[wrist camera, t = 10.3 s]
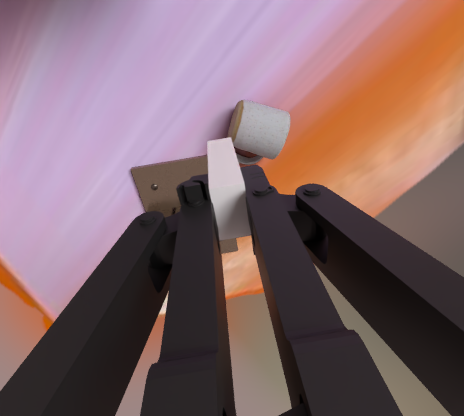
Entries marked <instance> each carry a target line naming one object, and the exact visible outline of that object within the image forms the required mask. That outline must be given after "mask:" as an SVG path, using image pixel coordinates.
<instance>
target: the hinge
mask: <svg viewBox="0 0 464 416" xmlns="http://www.w3.org/2000/svg"><path fill="white" fill-rule="evenodd" d="M131 172H132V175H133V177H134V180H135V183H136V186H137V188H138V191H139V194H140V197H141V199H142V202H143V205H144V207H145V210H146V212H151V211H159V212H161V213H163V215H164V218H165V217H168V216H171V215H173V214H176V213H178V212H179V211H180V207H181V205H180V201H179V198H178V194H177V190H176V188H177V186H178V185H179V184H181V183H182V182H185V181H187V180H189V179H190V178H191V177H192V176H197V175H203V174H208V155H204V156H198V157H192V158H186V159H180V160H174V161H168V162H162V163H156V164H150V165H144V166H138V167H132V168H131ZM173 208H176V211H175V212H174V209H173ZM219 241H220V246H221V254H222V253H228V252H234V251H238V247H237V241H236V238H232V239H226V240H219Z"/></svg>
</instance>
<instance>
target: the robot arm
mask: <svg viewBox="0 0 464 416" xmlns="http://www.w3.org/2000/svg"><path fill="white" fill-rule="evenodd" d="M207 151H208V174H203V175H197V176H192V177H191V178H190V179H189V180H187V181H185V182H182V183H181V184H179V185H178V186H177V188H176V190H177V194H178V198H179V201H180V205H181V207H180V211H179V212H178V213H176V214H174V215H171V216H168V217H165V218H164V215H163V213H161V212H159V211H151V212H146V213H143V214H141V215H140V216H138V217H136V218H135V219H134V220H133V221H132V223H131V224H130V225H129V226H128V228H127V229H126V230H125V232H124V233H123V234H122V235H121V237H120V238H119V239H118V241H117V242H116V243H115V244H114V246H113V247H112V248H111V250H110V251H109V252H108V253H107V255H106V256H105V257H104V259H103V260H102V261H101V262H100V264H99V265H98V266H97V268H96V269H95V270H94V271H93V273H92V274H91V275H90V277H89V278H88V279H87V280H86V282H85V283H84V284H83V286H82V287H81V288H80V290H79V291H78V292H77V293H76V295H75V296H74V297H73V299H72V300H71V301H70V302H69V304H68V305H67V306H66V308H65V309H64V310H63V311H62V313H61V314H60V315H59V317H58V318H57V319H56V320H55V322H54V323H53V324H52V326H51V327H50V328H49V329H48V331H47V332H46V333H45V335H44V336H43V337H42V338H41V340H40V341H39V342H38V344H37V345H36V346H35V347H34V349H33V350H32V351H31V353H30V354H29V355H28V356H27V358H26V359H25V360H24V362H23V363H22V364H21V365H20V367H19V368H18V369H17V371H16V372H15V373H14V375H13V376H12V377H11V378H10V380H9V381H8V382H7V384H6V385H5V386H4V387H3V389H2V390H1V391H0V416H115V414H116V412H117V410H118V407H119V405H120V403H121V400H122V398H123V396H124V394H125V391H126V389H127V386H128V384H129V382H130V380H131V377H132V375H133V372H134V370H135V368H136V366H137V363H138V361H139V359H140V356H141V354H142V352H143V349H144V347H145V345H146V342H147V340H148V338H149V335H150V333H151V331H152V328H153V326H154V324H155V321H156V319H157V317H158V314H159V312H160V310H161V307H162V305H163V303H164V300H165V298H166V296H167V293H168V291H169V294H168V301H167V308H166V316H165V324H164V331H163V337H162V345H161V352H160V357H159V360H158V362H157V363H154V364H152V365H151V367H150V369H149V371H148V375H147V379H146V384H145V390H144V396H143V402H142V408H141V414H140V416H236V410H235V401H234V390H233V379H232V367H231V357H230V345H229V333H228V322H227V311H226V300H225V289H224V277H223V266H222V255H221V246H220V241H219V240H226V239H232V238H238V237H244V236H250V235H251V236H252V244H253V251H254V255H256V259H257V263H258V268H259V272H260V276H261V280H262V284H263V288H264V292H265V297H266V301H267V304H268V309H269V313H270V317H271V321H272V325H273V329H274V334H275V338H276V342H277V346H278V350H279V354H280V359H281V362H282V367H283V371H284V375H285V379H286V383H287V387H288V392H289V396H290V401H291V407H292V409H290V410H288V411H287V412H285V413H283V414H281V415H279V416H403V415H402V413H401V412H400V410H399V408H398V406H397V404H396V402H395V400H394V399H393V396H392V395H391V393H390V391H389V389H388V387H387V385H386V383H385V382H384V380H383V378H382V376H381V374H380V372H379V370H378V369H377V367H376V365H375V363H374V361H373V359H372V357H371V355H370V353H369V352H368V350H367V348H366V346H365V344H364V342H363V341H362V339H361V338H360V336H359V334H358V333H356V332H355V331H354V330H348V329H347V328H346V327H345V326H344V324H343V322H342V320H341V318H340V316H339V314H338V312H337V310H336V308H335V306H334V304H333V302H332V300H331V298H330V296H329V294H328V292H327V290H326V288H325V286H324V284H323V282H322V280H321V278H320V276H319V274H318V272H317V270H316V268H315V266H314V264H315V265H316V266H317V267H318V268H319V269H320V271H321V272H322V273H323V274H324V275H325V276H326V277H327V278H328V280H329V281H330V282H331V283H332V284H333V285H334V286H335V287H336V288H337V289H338V291H340V293H341V294H342V295H343V296H344V297H345V298H346V299H347V301H348V302H349V303H350V304H351V305H352V306H353V307H354V308H355V309H356V311H358V313H359V314H360V315H361V316H362V317H363V318H364V319H365V320H366V322H367V323H368V324H369V325H370V326H371V327H372V328H373V329H374V330H375V331H376V333H377V334H378V335H379V336H380V337H381V338H382V339H383V340H384V341H385V343H386V344H387V345H388V346H389V347H390V348H391V349H392V350H393V351H394V353H395V354H396V355H397V356H398V357H399V358H400V359H401V360H402V361H403V363H404V364H405V365H406V366H407V367H408V368H409V369H410V370H411V371H412V373H413V374H414V375H415V376H416V377H417V378H418V379H419V380H420V381H421V382H422V384H423V385H424V386H425V387H426V388H427V389H428V390H429V391H430V392H431V393H432V395H433V396H434V397H435V398H436V399H437V400H438V401H439V402H440V403H441V404H442V406H443V407H444V408H445V409H446V410H447V411H448V412H449V413H450V415H452V416H464V277H462V276H461V275H459V274H458V273H456V272H455V271H453V270H452V269H450V268H449V267H447V266H445V265H444V264H443V263H441V262H439V261H438V260H436V259H435V258H433V257H432V256H430V255H429V254H427V253H426V252H424V251H423V250H421V249H420V248H418V247H416V246H415V245H413V244H412V243H410V242H409V241H407V240H406V239H404V238H403V237H401V236H400V235H398V234H397V233H395V232H394V231H392V230H390V229H389V228H387V227H386V226H384V225H383V224H381V223H380V222H378V221H377V220H375V219H374V218H372V217H371V216H369V215H368V214H366V213H365V212H363V211H362V210H360V209H359V208H357V207H356V206H354V205H352V204H351V203H349V202H348V201H346V200H345V199H343V198H342V197H340V196H339V195H337V194H336V193H334V192H333V191H331V190H330V189H328V188H326V187H324V186H322V185H318V184H307V185H302V186H300V187H298V188H297V189H296V192H295V195H283V194H279V193H278V192H277V190H276V188H275V187H273V186H271V185H270V184H269V182H268V180H267V178H266V176H265V173H264V171H263V169H262V168H261V167H259V166H258V165H252V166H246V167H240V166H239V163H238V159H237V156H236V153H235V149H234V146H233V142H232V139H231V137H229V138H223V139H217V140H211V141H207ZM313 263H314V264H313Z"/></svg>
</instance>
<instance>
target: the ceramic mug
mask: <svg viewBox="0 0 464 416" xmlns="http://www.w3.org/2000/svg"><path fill="white" fill-rule="evenodd" d="M289 128H290V115H289V113H288V112H287V111H283V110H280V109H276V108H273V107H270V106H266V105H262V104H259V103H256V102H253V101H247V100H241V101H239V102H238V103H237V105H236V107H235V109H234V112H233V115H232V119H231V122H230V126H229V131H228V137H227V138H229V137H231V139H232V142H233V146H234V147H236V148H238V149H241V150H245V151H248V152H251V153H254V154H257V156H255V157H252V158H247V157H244V156H241V155H239V154H237V153H236V156H237V159H238V162H239V163H241V164H246V165H250V164H254V163H256V162H258V161H260V160H261V159H262V158H263V157H265V158H268V159H275V158H276V157H277V156H278V154H279V153H280V151H281V150H282V148H283V146H284V144H285V141H286V138H287V135H288V132H289Z"/></svg>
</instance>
